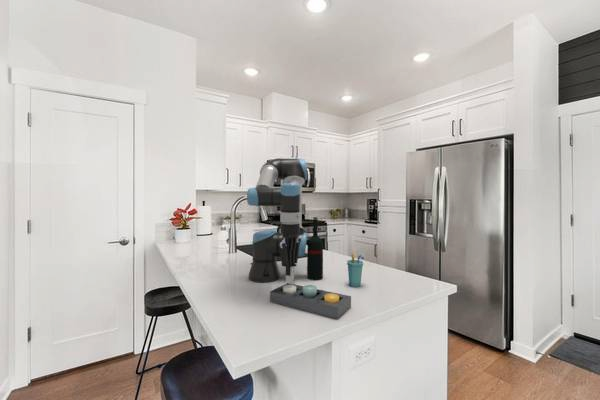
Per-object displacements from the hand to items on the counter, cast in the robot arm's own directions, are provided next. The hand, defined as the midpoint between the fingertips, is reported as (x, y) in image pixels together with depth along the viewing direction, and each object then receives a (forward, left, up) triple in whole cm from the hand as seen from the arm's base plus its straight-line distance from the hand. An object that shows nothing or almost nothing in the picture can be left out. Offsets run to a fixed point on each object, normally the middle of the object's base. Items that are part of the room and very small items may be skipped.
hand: (289, 282), depth 109 cm
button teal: (+9, 0, -3) cm, 10 cm away
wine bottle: (-6, +31, -7) cm, 32 cm away
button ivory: (0, 0, -5) cm, 5 cm away
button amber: (+18, 0, -5) cm, 19 cm away
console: (+9, 0, -6) cm, 11 cm away
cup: (+16, +30, -7) cm, 34 cm away
